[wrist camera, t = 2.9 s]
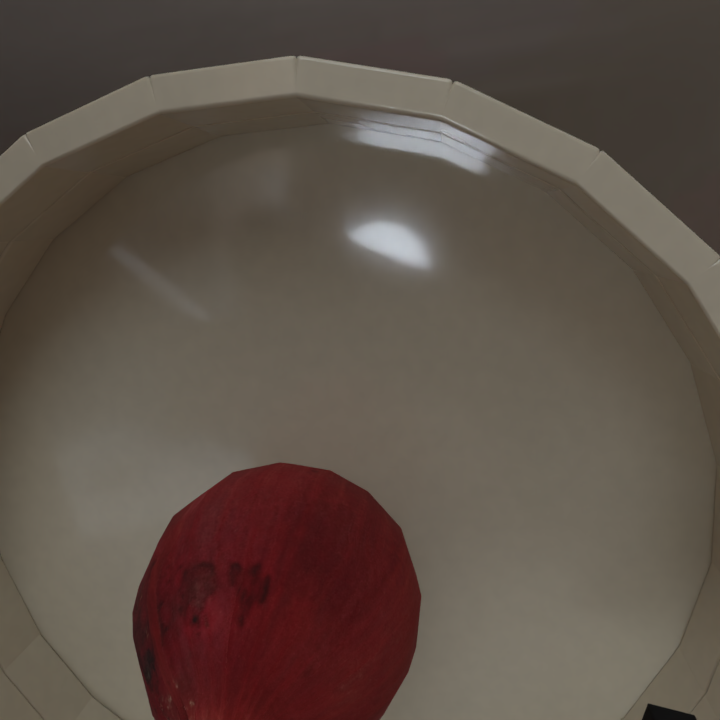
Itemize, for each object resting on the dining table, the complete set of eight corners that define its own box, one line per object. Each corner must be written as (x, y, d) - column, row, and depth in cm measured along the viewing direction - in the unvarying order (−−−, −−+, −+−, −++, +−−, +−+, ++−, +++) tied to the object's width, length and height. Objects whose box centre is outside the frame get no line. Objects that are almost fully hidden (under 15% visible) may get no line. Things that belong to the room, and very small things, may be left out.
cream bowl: (-31, 34, 15) (-175, -21, 11) (879, 182, 13) (1039, 169, 9) (-30, 718, 20) (-127, 819, 17) (603, 895, 18) (639, 1050, 15)
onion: (187, 551, 17) (-28, 832, 9) (262, 379, 15) (77, 545, 8) (369, 642, 17) (305, 1005, 9) (462, 478, 15) (482, 749, 7)
